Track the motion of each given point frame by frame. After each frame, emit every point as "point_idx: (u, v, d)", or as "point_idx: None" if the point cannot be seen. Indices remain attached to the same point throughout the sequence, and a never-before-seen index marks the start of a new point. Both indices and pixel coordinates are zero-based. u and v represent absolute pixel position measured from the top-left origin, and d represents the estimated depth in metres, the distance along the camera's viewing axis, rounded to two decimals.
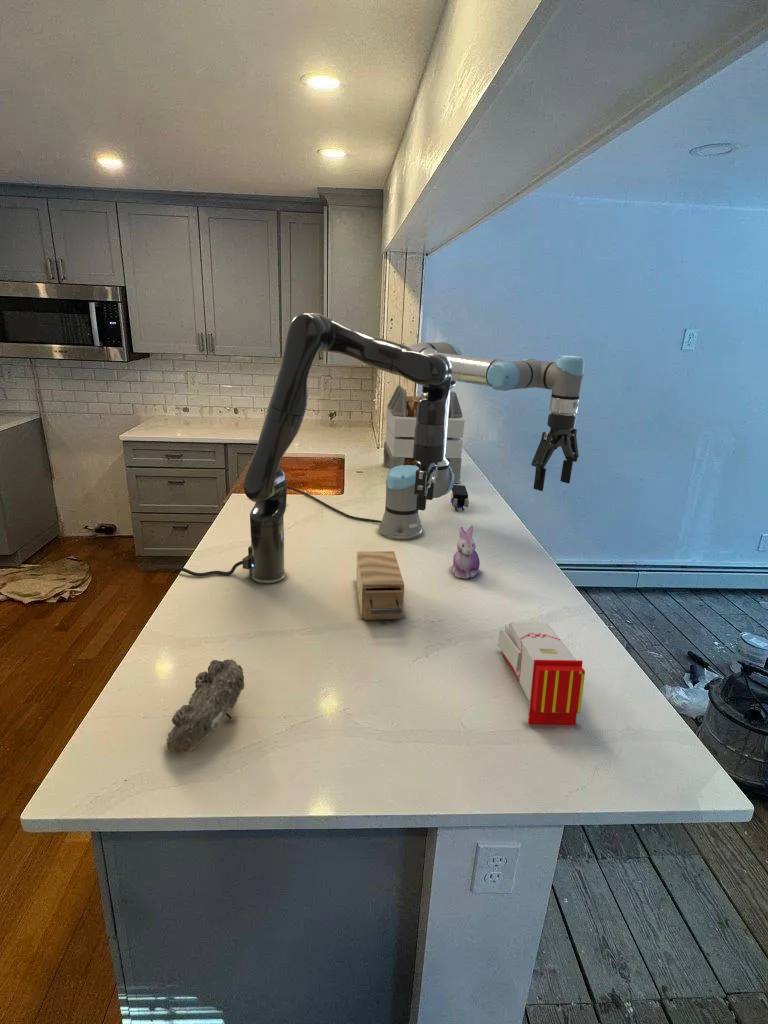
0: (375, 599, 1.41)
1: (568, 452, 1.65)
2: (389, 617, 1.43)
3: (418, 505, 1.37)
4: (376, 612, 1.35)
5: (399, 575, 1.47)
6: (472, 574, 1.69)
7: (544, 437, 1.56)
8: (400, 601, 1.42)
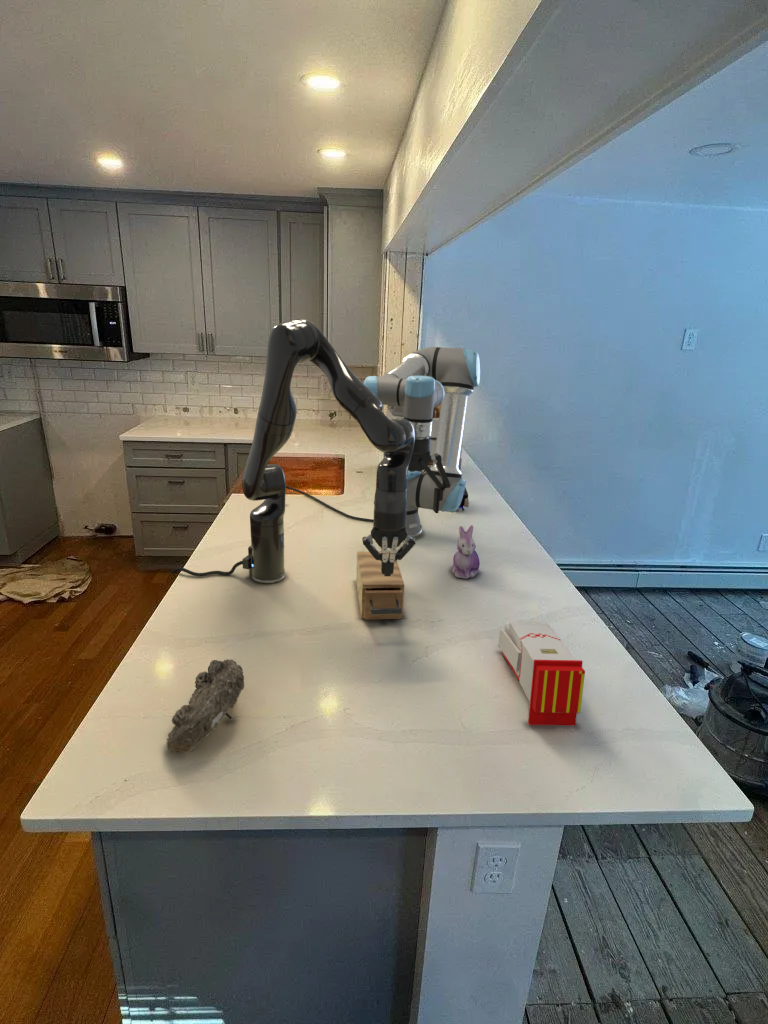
0: (375, 599, 1.41)
1: (432, 479, 1.53)
2: (389, 617, 1.43)
3: None
4: (376, 612, 1.35)
5: (399, 575, 1.47)
6: (472, 574, 1.69)
7: None
8: (400, 601, 1.42)
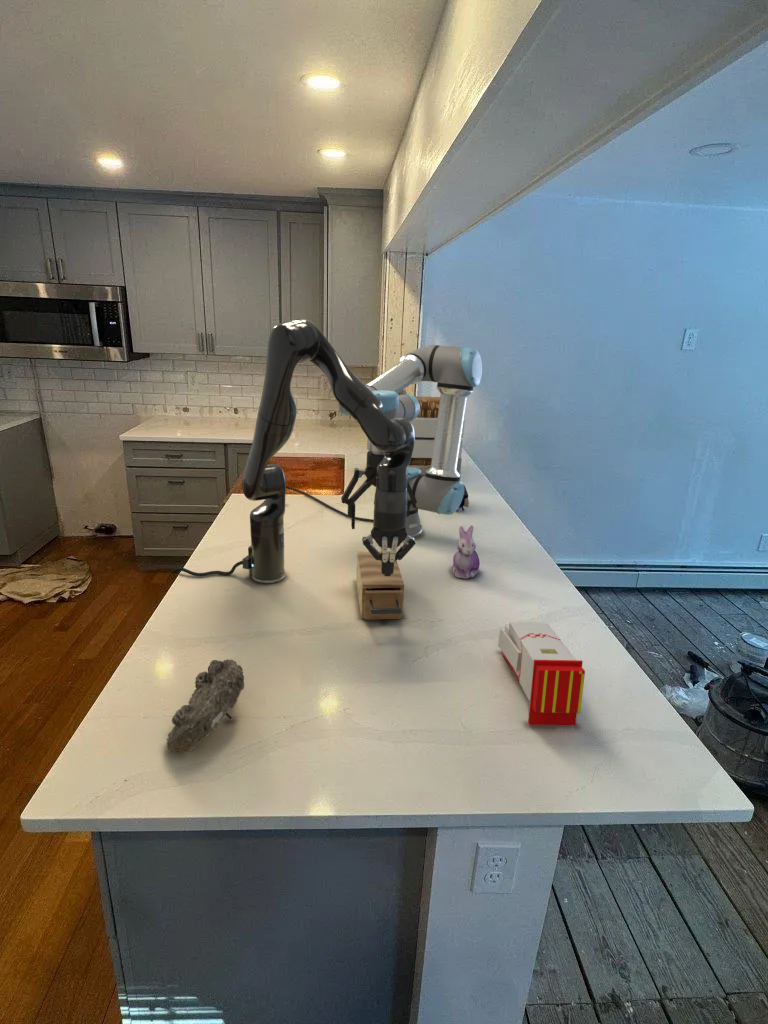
0: (375, 599, 1.41)
1: None
2: (389, 617, 1.43)
3: None
4: (376, 612, 1.35)
5: (399, 575, 1.47)
6: (472, 574, 1.69)
7: (354, 473, 1.49)
8: (400, 601, 1.42)
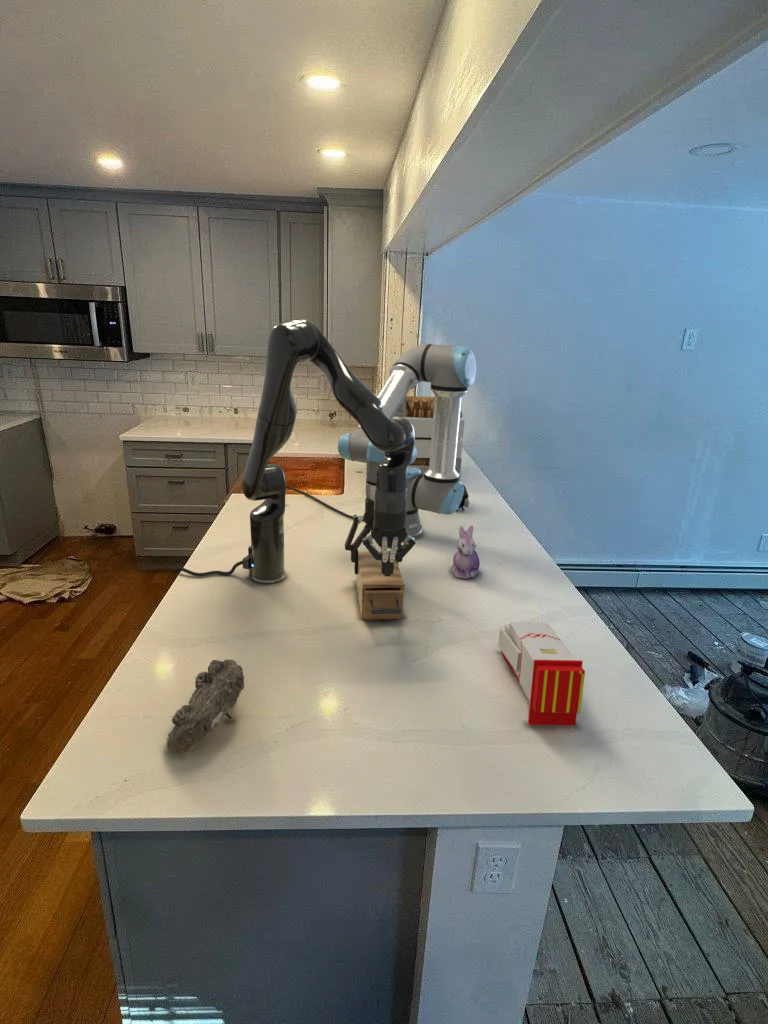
0: (375, 599, 1.41)
1: None
2: (389, 617, 1.43)
3: None
4: (376, 612, 1.35)
5: (399, 575, 1.47)
6: (472, 574, 1.69)
7: (353, 520, 1.54)
8: (400, 601, 1.42)
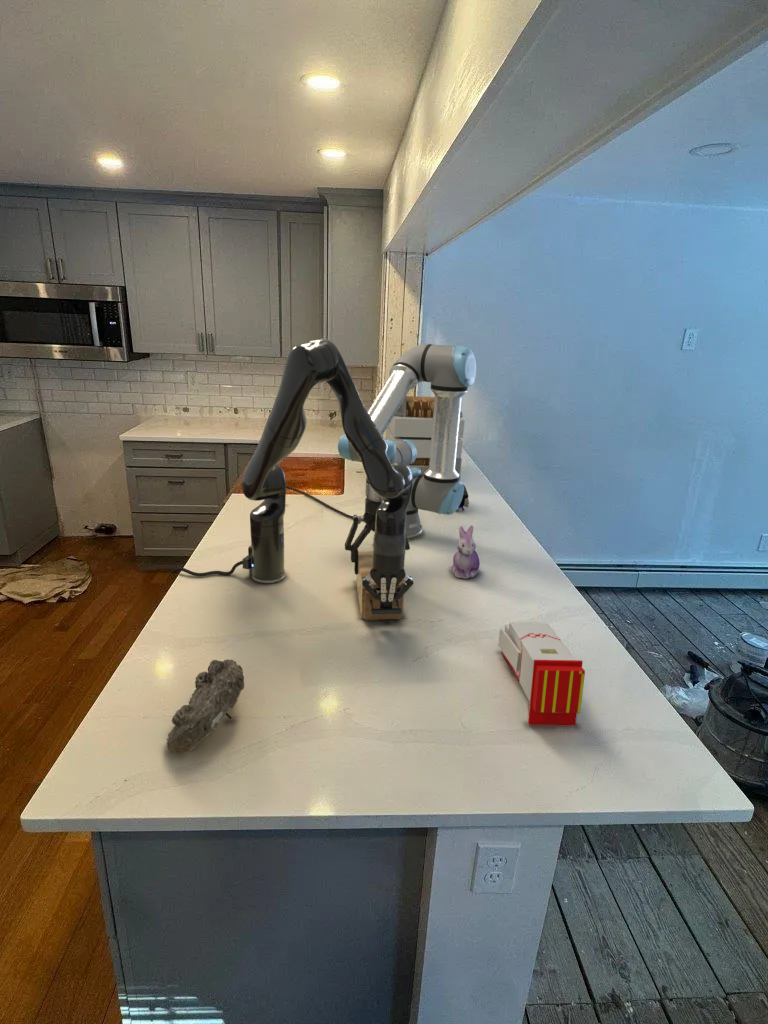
0: (375, 599, 1.41)
1: None
2: (389, 617, 1.43)
3: None
4: (376, 612, 1.35)
5: None
6: (472, 574, 1.69)
7: (353, 520, 1.54)
8: (400, 601, 1.42)
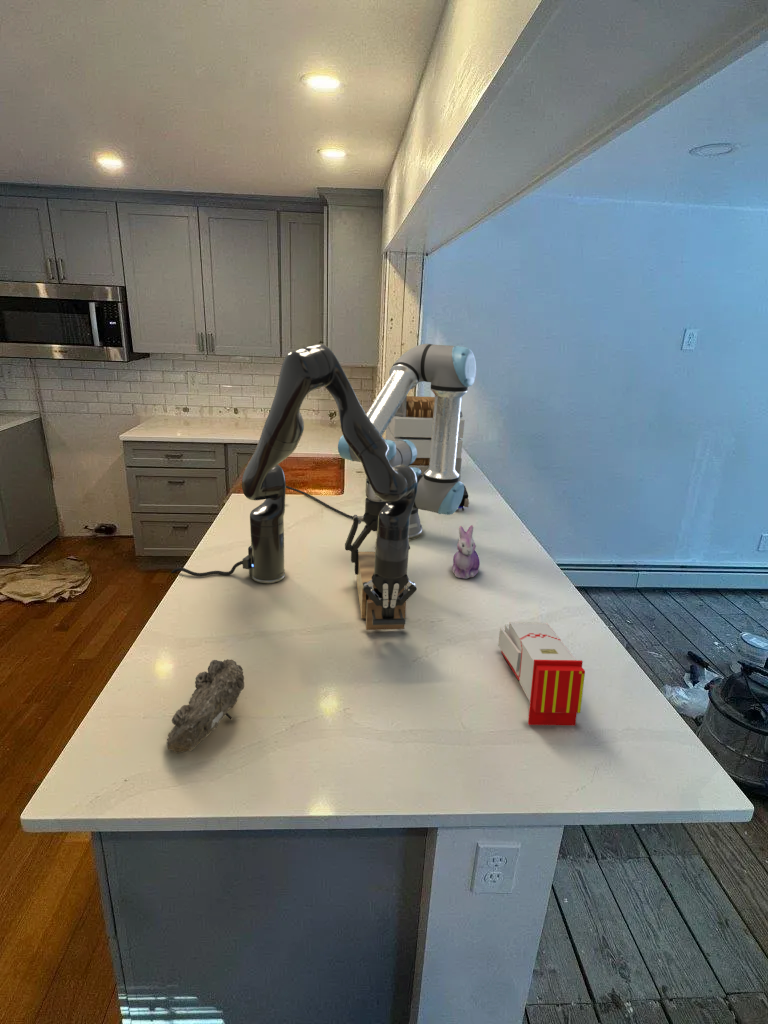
0: (377, 609, 1.36)
1: None
2: (392, 627, 1.38)
3: None
4: (378, 623, 1.31)
5: None
6: (472, 574, 1.69)
7: (353, 520, 1.54)
8: (403, 611, 1.37)
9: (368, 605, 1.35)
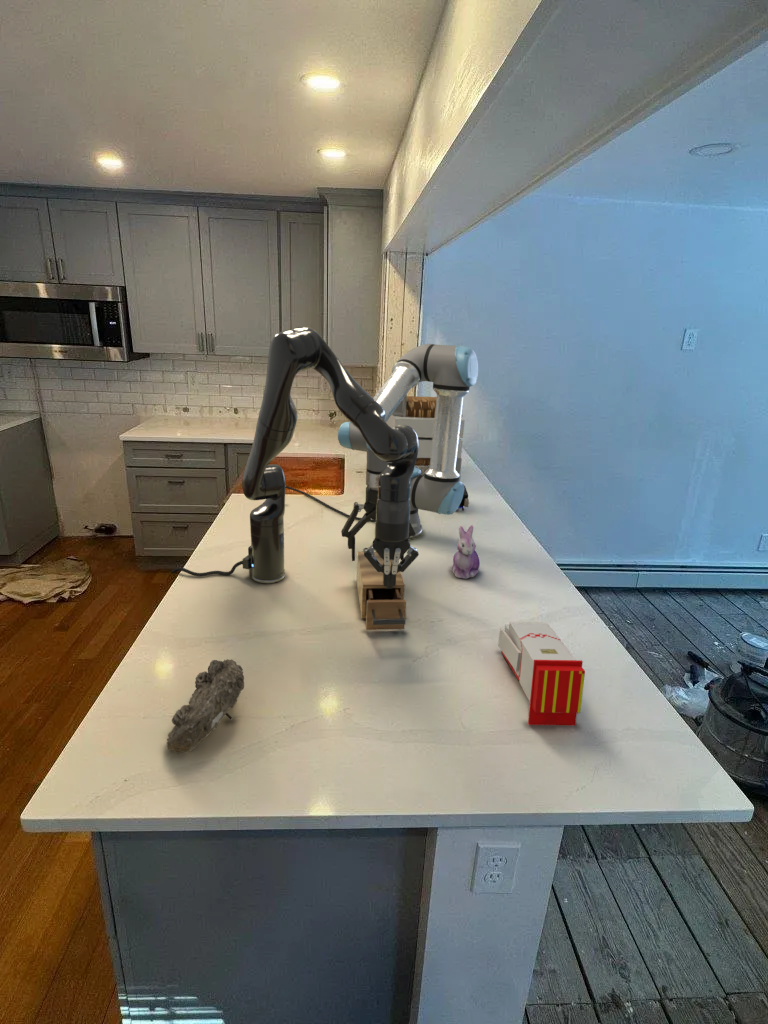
0: (377, 609, 1.36)
1: None
2: (392, 627, 1.38)
3: None
4: (378, 623, 1.31)
5: (399, 575, 1.47)
6: (472, 574, 1.69)
7: (353, 507, 1.53)
8: (403, 611, 1.37)
9: (368, 605, 1.35)
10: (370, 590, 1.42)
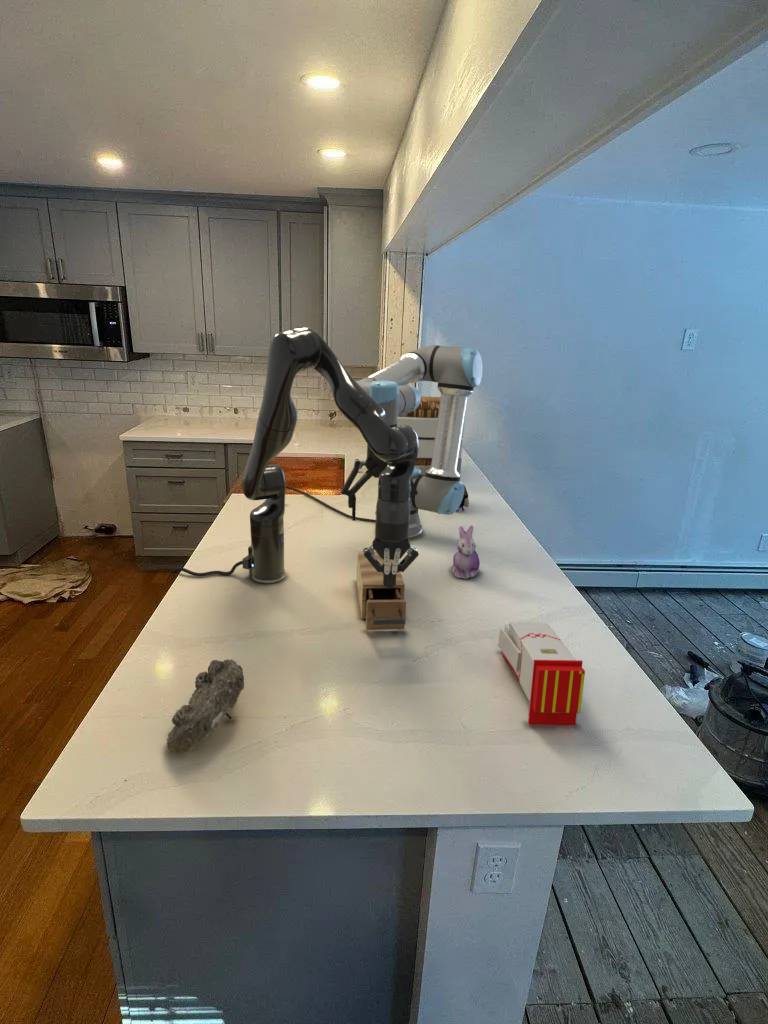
0: (377, 609, 1.36)
1: None
2: (392, 627, 1.38)
3: None
4: (378, 623, 1.31)
5: (399, 575, 1.47)
6: (472, 574, 1.69)
7: (354, 464, 1.48)
8: (403, 611, 1.37)
9: (368, 605, 1.35)
10: (370, 590, 1.42)
